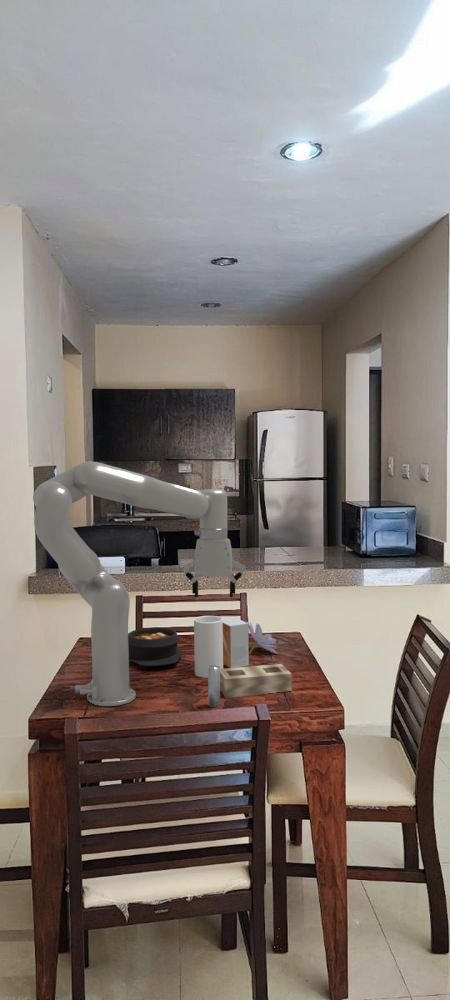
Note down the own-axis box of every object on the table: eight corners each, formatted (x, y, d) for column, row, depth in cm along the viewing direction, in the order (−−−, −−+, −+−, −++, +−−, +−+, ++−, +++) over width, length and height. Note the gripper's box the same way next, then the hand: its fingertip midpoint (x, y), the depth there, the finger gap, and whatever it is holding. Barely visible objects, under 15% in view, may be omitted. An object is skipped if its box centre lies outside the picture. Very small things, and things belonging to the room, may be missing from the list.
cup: (189, 674, 211) (188, 620, 210) (205, 667, 218) (204, 614, 217) (212, 679, 207) (211, 623, 205) (228, 671, 213) (227, 617, 212)
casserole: (191, 668, 217) (191, 640, 217) (129, 675, 212) (128, 646, 211) (173, 646, 241) (173, 621, 241) (116, 651, 236) (116, 626, 235)
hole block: (225, 698, 191) (225, 679, 191) (218, 687, 200) (218, 669, 200) (291, 691, 195) (291, 673, 195) (281, 681, 204) (281, 663, 204)
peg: (209, 708, 184) (209, 669, 184) (207, 704, 187) (206, 665, 187) (221, 707, 185) (220, 668, 184) (218, 702, 188) (218, 664, 187)
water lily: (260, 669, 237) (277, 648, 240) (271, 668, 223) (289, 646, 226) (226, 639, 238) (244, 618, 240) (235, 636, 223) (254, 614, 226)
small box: (218, 662, 223) (217, 619, 222) (236, 659, 226) (235, 617, 225) (230, 669, 216) (230, 625, 215) (249, 665, 219) (248, 622, 218)
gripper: (180, 536, 197) (181, 599, 198) (245, 536, 196) (245, 599, 198) (183, 532, 205) (183, 593, 206) (245, 532, 204) (245, 593, 205)
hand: (213, 596), depth 202 cm, fingers open, 9 cm apart
